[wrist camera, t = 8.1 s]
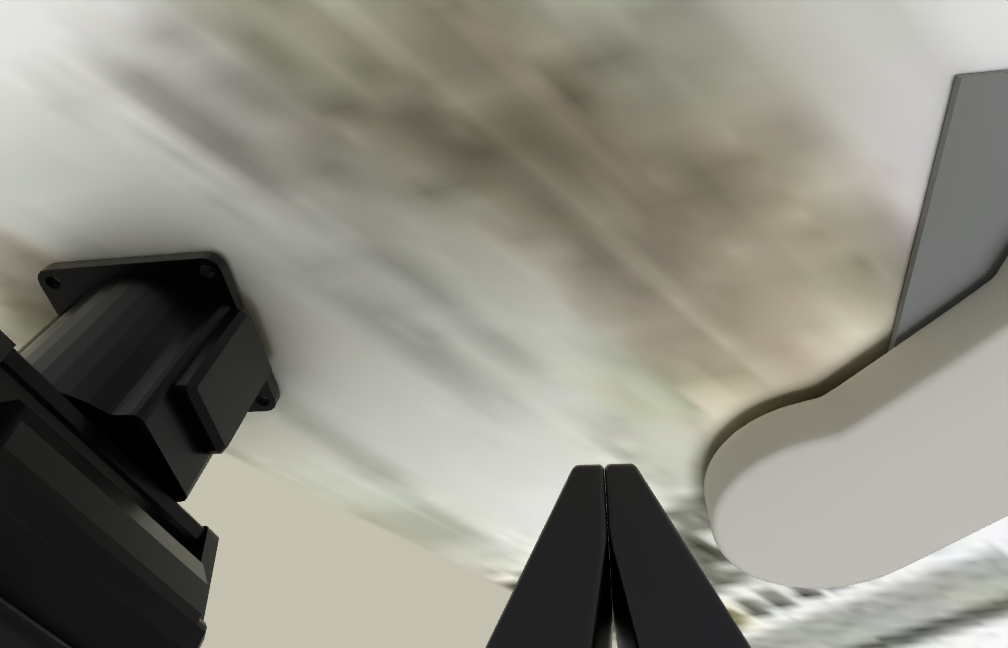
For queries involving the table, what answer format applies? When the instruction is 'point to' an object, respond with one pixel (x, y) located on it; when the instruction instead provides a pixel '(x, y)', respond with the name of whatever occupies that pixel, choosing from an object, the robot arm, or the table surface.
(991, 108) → the mat
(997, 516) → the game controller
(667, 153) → the table surface
